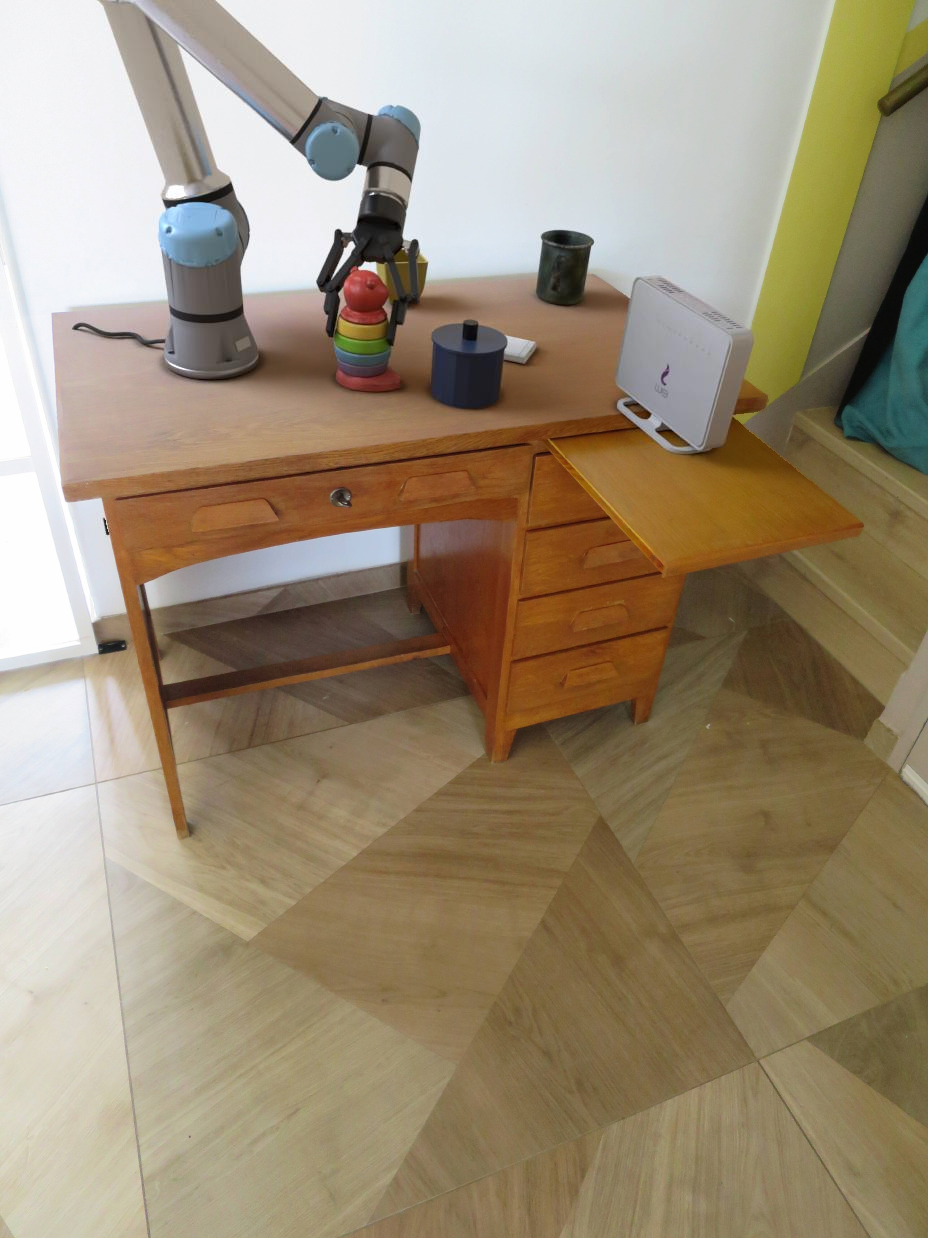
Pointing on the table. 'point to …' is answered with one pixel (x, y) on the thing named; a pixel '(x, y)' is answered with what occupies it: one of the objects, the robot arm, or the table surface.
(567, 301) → the mug
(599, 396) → the table surface
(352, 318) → the stacking bear
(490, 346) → the pot lid
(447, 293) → the table surface
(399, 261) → the flower pot
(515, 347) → the hard drive
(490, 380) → the pot
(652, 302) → the network device
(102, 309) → the table surface
